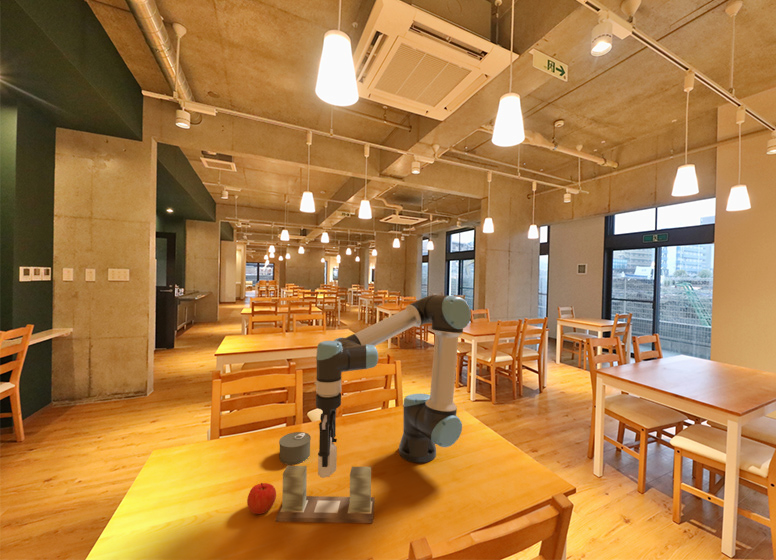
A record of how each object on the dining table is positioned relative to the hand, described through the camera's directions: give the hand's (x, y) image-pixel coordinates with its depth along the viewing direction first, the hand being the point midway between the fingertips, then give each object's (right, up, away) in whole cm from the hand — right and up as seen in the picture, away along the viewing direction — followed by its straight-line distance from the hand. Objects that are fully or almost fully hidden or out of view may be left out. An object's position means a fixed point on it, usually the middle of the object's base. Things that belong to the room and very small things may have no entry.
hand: (327, 470), depth 93 cm
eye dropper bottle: (0, -1, 0) cm, 1 cm away
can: (-19, -13, +29) cm, 37 cm away
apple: (-20, -12, 0) cm, 24 cm away
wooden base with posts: (0, -12, 0) cm, 12 cm away
